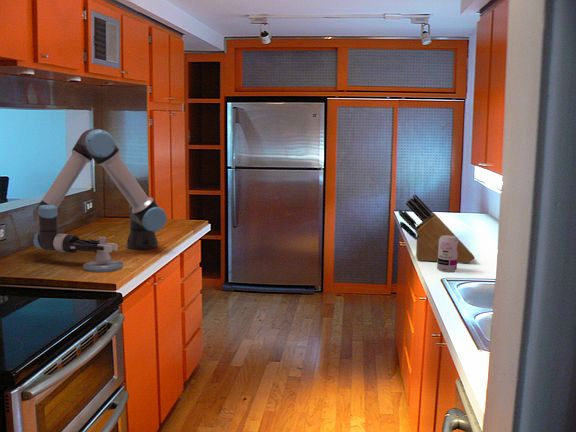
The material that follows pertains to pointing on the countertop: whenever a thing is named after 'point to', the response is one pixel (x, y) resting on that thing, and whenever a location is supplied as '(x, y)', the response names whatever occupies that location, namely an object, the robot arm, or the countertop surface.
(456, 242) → the supplement can
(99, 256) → the flask
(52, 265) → the countertop surface
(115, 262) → the dish
